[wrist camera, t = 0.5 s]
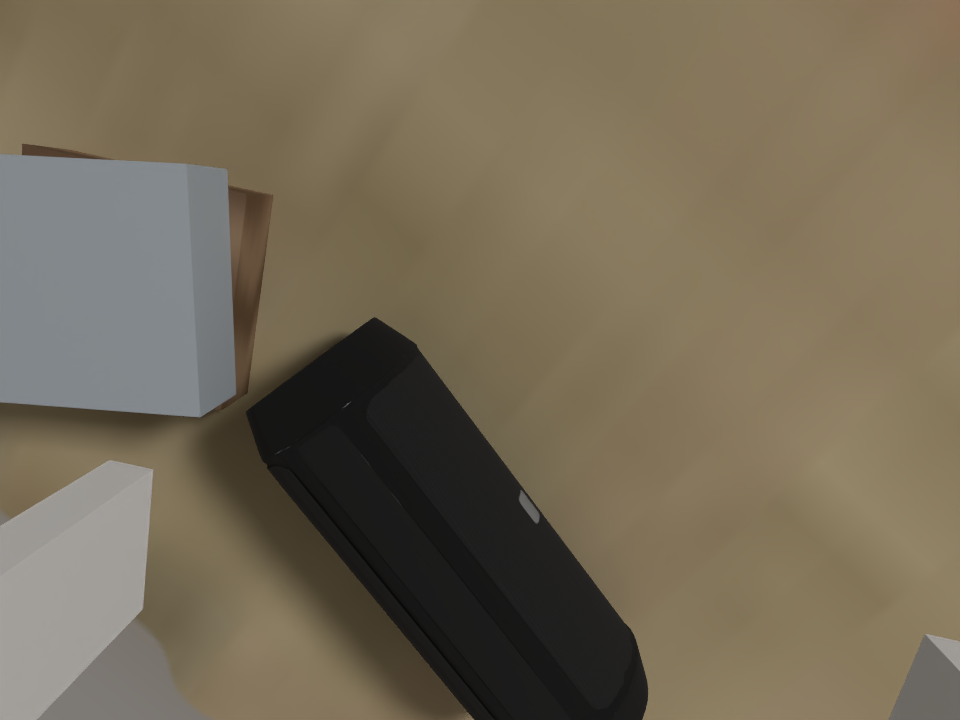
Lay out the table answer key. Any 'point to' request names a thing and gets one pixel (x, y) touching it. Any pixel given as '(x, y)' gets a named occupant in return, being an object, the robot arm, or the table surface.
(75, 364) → the tower top
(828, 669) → the table surface
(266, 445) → the portable speaker
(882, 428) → the table surface
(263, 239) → the tower base
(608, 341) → the table surface
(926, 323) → the table surface
